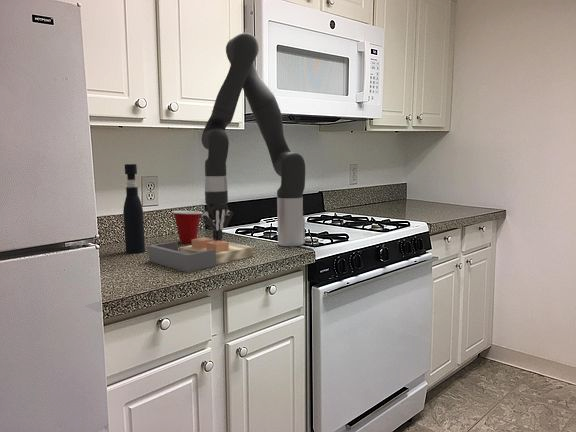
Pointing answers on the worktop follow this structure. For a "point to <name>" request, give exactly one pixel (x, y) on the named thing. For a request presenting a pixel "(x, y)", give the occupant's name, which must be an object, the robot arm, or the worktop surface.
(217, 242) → the terracotta tile
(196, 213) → the plastic cup
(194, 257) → the box
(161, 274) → the worktop surface
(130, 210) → the wine bottle
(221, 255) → the birch board
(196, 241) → the terracotta tile
